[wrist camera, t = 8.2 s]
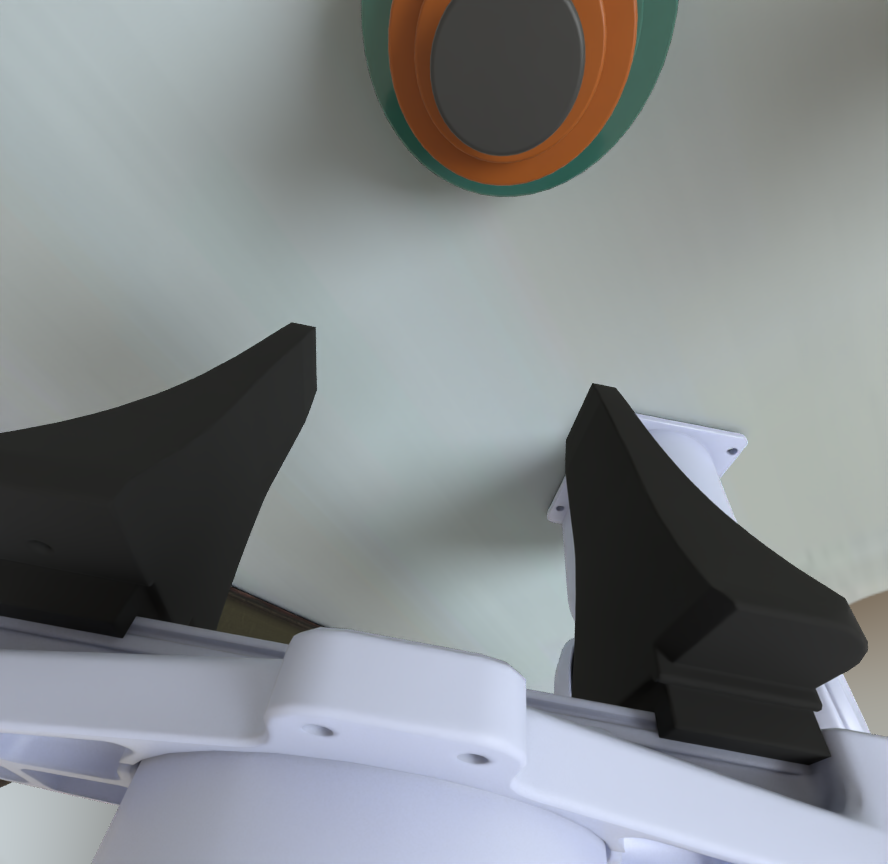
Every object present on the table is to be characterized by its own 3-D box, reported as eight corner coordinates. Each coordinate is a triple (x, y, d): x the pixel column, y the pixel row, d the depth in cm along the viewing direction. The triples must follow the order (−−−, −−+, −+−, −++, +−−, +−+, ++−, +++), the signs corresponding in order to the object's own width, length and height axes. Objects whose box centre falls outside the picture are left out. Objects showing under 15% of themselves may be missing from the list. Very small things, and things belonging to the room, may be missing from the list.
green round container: (596, 192, 19) (613, 241, 15) (374, 147, 19) (341, 186, 15) (713, -148, 13) (785, -195, 10) (393, -219, 13) (346, -293, 9)
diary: (100, 640, 55) (70, 687, 52) (167, 554, 41) (132, 610, 37) (252, 695, 62) (235, 740, 58) (355, 637, 48) (342, 693, 44)
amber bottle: (571, 155, 14) (596, 245, 9) (410, 122, 14) (355, 196, 9) (640, -75, 11) (730, -116, 6) (433, -119, 11) (366, -196, 6)
